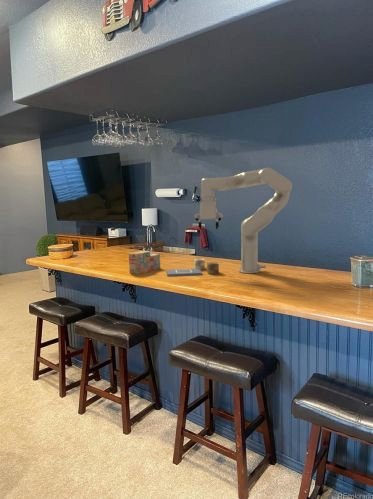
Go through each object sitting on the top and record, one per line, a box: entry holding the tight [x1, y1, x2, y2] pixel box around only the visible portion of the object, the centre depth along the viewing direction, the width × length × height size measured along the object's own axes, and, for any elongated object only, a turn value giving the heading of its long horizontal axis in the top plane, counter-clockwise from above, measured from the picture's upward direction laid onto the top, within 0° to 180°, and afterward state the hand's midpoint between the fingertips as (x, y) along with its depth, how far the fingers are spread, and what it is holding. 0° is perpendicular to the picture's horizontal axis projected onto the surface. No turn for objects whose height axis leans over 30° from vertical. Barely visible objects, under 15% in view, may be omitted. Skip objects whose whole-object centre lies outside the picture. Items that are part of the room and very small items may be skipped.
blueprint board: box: [166, 268, 203, 277], centre depth 222 cm, size 20×14×1 cm
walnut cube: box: [206, 261, 220, 275], centre depth 220 cm, size 6×6×6 cm
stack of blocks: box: [128, 250, 161, 275], centre depth 232 cm, size 21×6×12 cm, turn 143°
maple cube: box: [193, 258, 206, 271], centre depth 234 cm, size 6×6×6 cm
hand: (208, 228), depth 222 cm, fingers open, 9 cm apart
